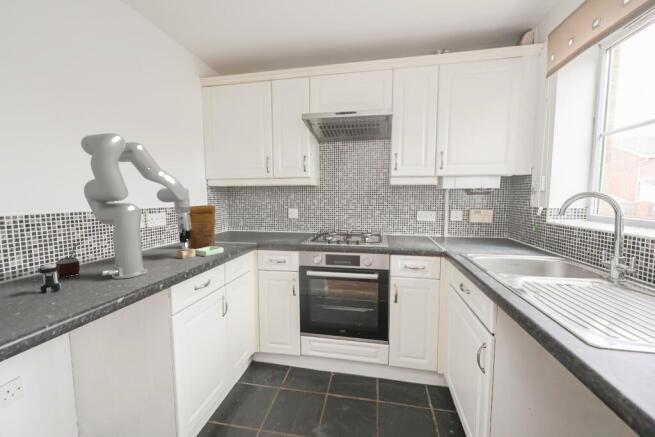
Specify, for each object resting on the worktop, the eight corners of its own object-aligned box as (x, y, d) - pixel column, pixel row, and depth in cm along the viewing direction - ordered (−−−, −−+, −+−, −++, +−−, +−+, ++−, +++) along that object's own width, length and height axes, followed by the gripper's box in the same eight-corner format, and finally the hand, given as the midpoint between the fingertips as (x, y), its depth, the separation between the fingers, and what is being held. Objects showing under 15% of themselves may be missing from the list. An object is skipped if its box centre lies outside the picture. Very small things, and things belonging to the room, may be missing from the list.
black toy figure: (31, 295, 89) (28, 268, 89) (42, 290, 94) (38, 264, 93) (56, 292, 92) (53, 265, 91) (65, 287, 97) (62, 262, 96)
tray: (206, 256, 143) (206, 251, 143) (193, 254, 148) (193, 249, 148) (223, 252, 153) (223, 247, 153) (211, 250, 159) (210, 246, 158)
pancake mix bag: (217, 247, 168) (214, 205, 165) (184, 250, 161) (181, 206, 159) (218, 245, 174) (215, 205, 171) (187, 248, 168) (184, 206, 165)
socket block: (183, 258, 139) (183, 251, 138) (176, 257, 142) (175, 250, 142) (195, 256, 145) (195, 249, 144) (188, 254, 148) (187, 248, 148)
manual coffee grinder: (57, 277, 111) (53, 243, 109) (82, 272, 117) (78, 240, 115) (58, 280, 106) (54, 245, 105) (84, 275, 112) (80, 242, 111)
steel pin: (184, 257, 141) (183, 241, 140) (181, 257, 143) (180, 240, 142) (190, 256, 144) (189, 240, 143) (186, 256, 146) (185, 239, 145)
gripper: (186, 211, 134) (189, 243, 136) (193, 209, 151) (196, 237, 153) (170, 212, 132) (173, 244, 134) (179, 209, 148) (182, 238, 151)
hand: (185, 240), depth 143 cm, fingers open, 9 cm apart
